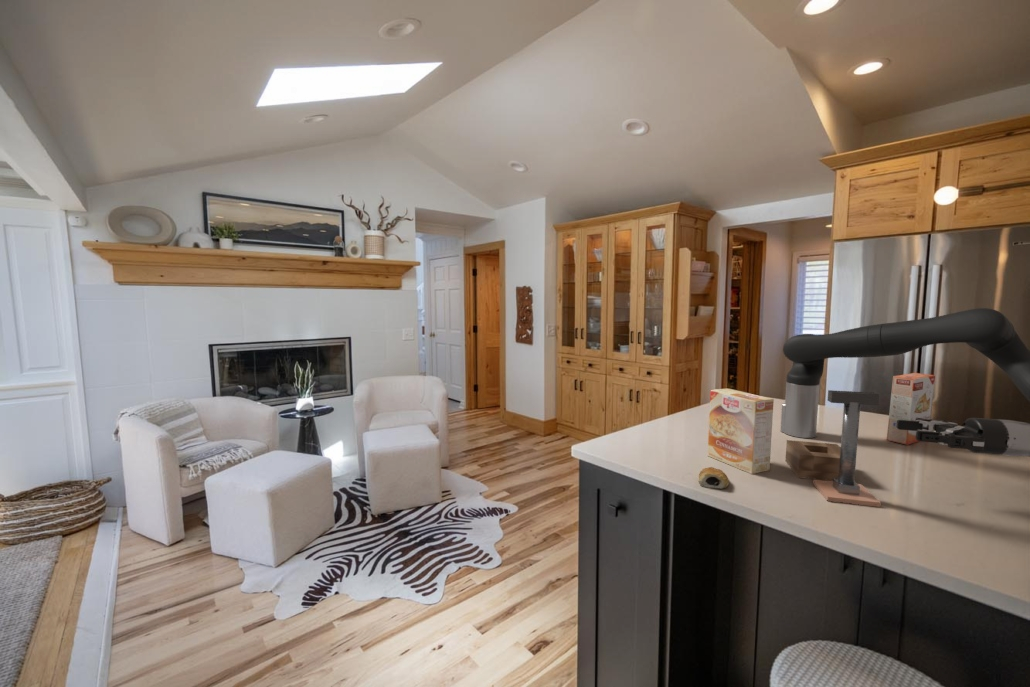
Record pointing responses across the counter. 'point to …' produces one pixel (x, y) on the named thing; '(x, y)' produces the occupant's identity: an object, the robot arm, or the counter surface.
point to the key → (850, 436)
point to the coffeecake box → (740, 429)
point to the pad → (833, 495)
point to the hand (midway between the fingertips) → (906, 429)
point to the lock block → (813, 459)
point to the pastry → (713, 478)
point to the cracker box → (909, 404)
